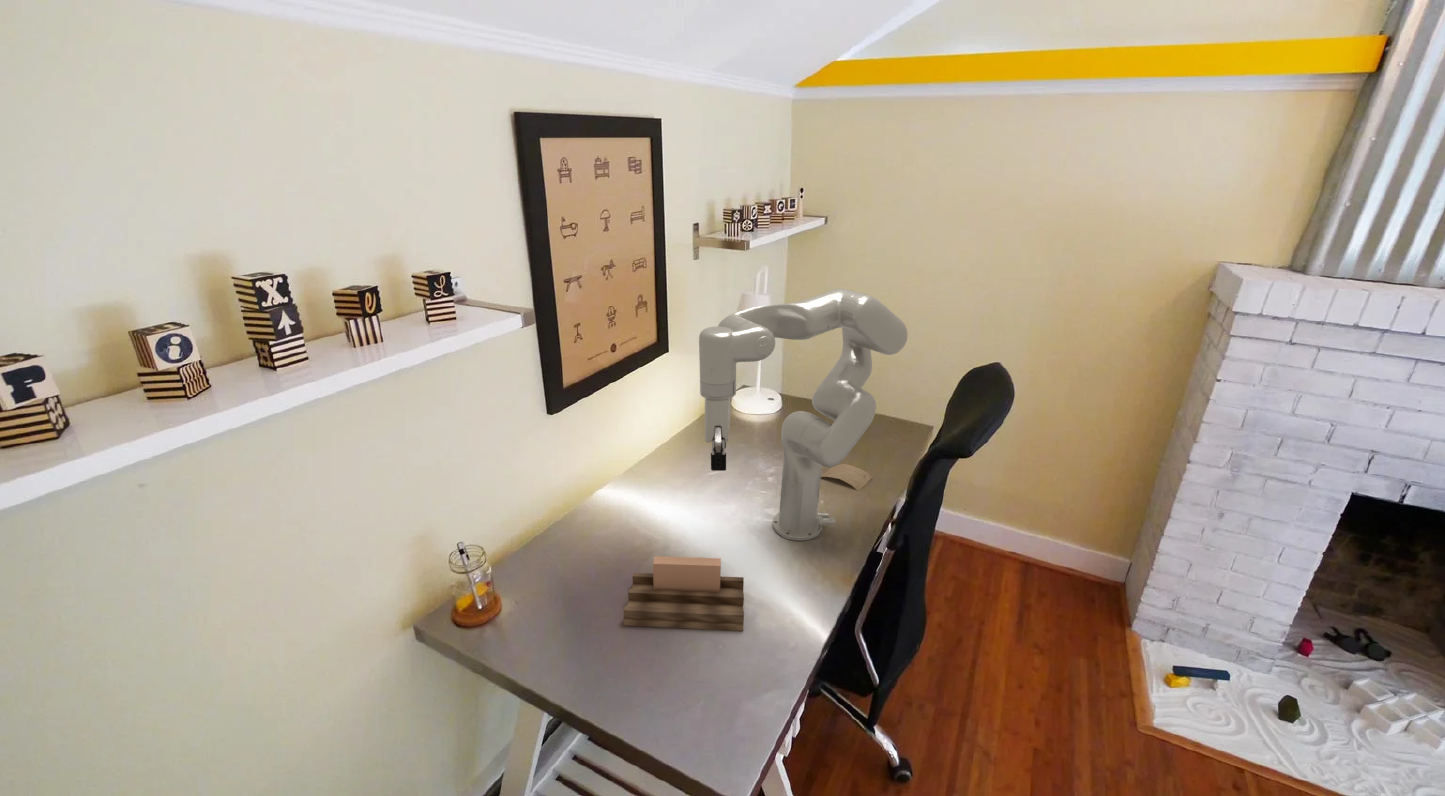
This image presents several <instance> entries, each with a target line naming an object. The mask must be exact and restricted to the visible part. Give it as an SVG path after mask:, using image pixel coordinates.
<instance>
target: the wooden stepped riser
mask: <svg viewBox="0 0 1445 796" xmlns="http://www.w3.org/2000/svg"><path fill="white" fill-rule="evenodd" d="M631 576H632V585H631V588H628V592H627V594H628V595H627V596H628V597H627V598H628V601H627V604H626V605H624V608H623V626H627V627H629V626H630V627H647V628H648V627H650V628H651V627H652V628H654V627H655V628H670V629H671V628H673V629H694V630H695V629H697V630H719V631H740V632H743V631H744V626H745V625H744V620H745V610H744V604H745V603H744V602H745V600H744V599H745V593H744V582H745V581H744V580H745V579H744V577H743V576H741V577H739V576H721V575H720V593H717V592H694V591H671V590H654V587H653V572H652V573H651V572H649V573H647V572H633V573H632V575H631Z"/></svg>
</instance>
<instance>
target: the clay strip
mask: <svg viewBox="0 0 1445 796" xmlns="http://www.w3.org/2000/svg"><path fill="white" fill-rule="evenodd" d="M721 569H722V558H720V557H719V558H717V557H715V558H714V557H693V556H690V557H689V556H661V555H659V556H658V555H655V556H654V557H653V563H652V573H653V587H654V590H671V591H694V592H717V593H720V576H721V575H722V574H721V572H722V571H721Z"/></svg>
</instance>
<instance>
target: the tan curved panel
mask: <svg viewBox="0 0 1445 796" xmlns="http://www.w3.org/2000/svg"><path fill="white" fill-rule="evenodd" d="M823 477H824V478H827V477H828V478H834V479H838V480H839V479H840V480H841V481H844V482H845V483H847V484H848V485H850V486H852V487H853V489H855V490H856V491H860V490H861V489H862V488H863V487H864V486H865V485H866V484H867V483H868V482H869V481H870V480H872V479H873V477H872V476H871V475H870V474H869V473H868V472H867V471H865V470H863V469H862V468H859V467H856V466H854V465H851V464H847V463H839V464H837V465H836V466H833V467H829V469H827V470H826V471H825V472H824V473H823V474H821V478H823Z"/></svg>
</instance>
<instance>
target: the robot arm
mask: <svg viewBox="0 0 1445 796" xmlns="http://www.w3.org/2000/svg"><path fill="white" fill-rule="evenodd" d="M839 328H840V329H841V332H842V333H841V334H842V350H841V354H840V357H839V358H838V360H837V362H836V364H834V366H833V367H832V369H830V371H829V373H828V374H827V375H826V376H825V378H824V379H823V380H822V381H821V382H820V384H819V385H818V387H817V388H816V390H815V392H814V394H812V395H813V396H812V398H811V402H812V403H811V404H812V406H813V408H814V409H815V410H816V411H817V412H818V413H820V414H821V415H823V416H825V417H826V418H828V419H830V420H833V423H831V422H828V421H826V420H825V419H823V418H821V417H819V416H818V415H815V414H812V412H811V413H810V412H809V411H808V412H807V411H804V410H798V411H793V412H792V413H790V414H789V415H787V416H786V417H785V419H784V421H783V423H782V425H781V443H782V454H783V456H782V459H783V460H782V475H781V488H780V500H779V512H778V513H776V514H775V515H774V517H773V518H772V529H773V530H774V532H775V533H777V534H778V535H780V536H781V537H782V538H785V539H788V540H792V541H799V542H801V541H810V540H813V539H814V538H815V539H816V538H817V537H818V536H819V535H820V534H821V532H822V528H823V525H824V526H835V525H836V518H835V517H830V516H829V515H830V514H829V513H828V512H827V513H826V512H823V513H822V512H819V511H818V508H819V507H818V506H819V505H818V504H819V497H820V489H821V478H822V477H821V475H822V471H823V470H822V469H823V468H822V467H827V468H831V467H833V466H836V465H839V464H841V463H842V462H843V461H844V460H845V459H846V457H847V456H848V454H849V453H850V452H851V451H852V449H853V448H854V446H855V445H856V444H857V443H858V442H859V440H860V439H861V438H862V436H863V435H864V433H865V432H866V431H867V429H868V428H869V427H870V425H871V423H872V422H873V420H874V418H875V414H876V412H877V411H876V410H877V403H876V400H875V398H874V396H873V395H872V394H871V393H870V392H868V391H867V390H865V389H863V387H864V386H865V385H866V382H867V381H868V380H869V379H870V377H871V374H872V369H873V358H872V351H874V352H877V353H879V354H882V355H888V356H891V355H895V354H898V353H899V352H901V351H902V350H903V349H904V347H905V346H906V343H907V340H908V329H907V326H906V324H905V322H904V321H903V320H902V319H901V318H899V316H897V315H896V314H895V313H894V312H893V311H891V310H890V309H889V308H888V307H887V306H886V305H885V304H884V303H882V302H881V301H880V300H878V299H877V298H875V297H874V296H872V295H868V294H866V293H861V292H858V291H855V290H850V289H845V288H837V289H832V290H829V291H827V292H826V291H825V292H822V293H820V294H817V295H814V296H812V297H811V296H810V297H807V298H804V299H802V300H798V301H795V302H786V303H778V304H766V305H759V306H754V307H750V308H745V309H742V310H740V311H737V312H733V313H731V314H730V315H727V316H726V317H724V318H723V319H722V320H721V321H720V322H719V323H718V325H717V326H710V327H707V328H704V329H702V330H701V332H700V333H699V336H698V337H699V338H698V348H699V349H698V351H699V352H698V354H699V390H700V391H699V394H700V396H701V397H703V398H704V434H705V435H704V439H705V440H704V441H705V443H706V444H708V443H711V452H710V470H711V471H713V472H715V471H716V472H717V471H719V472H720V471H726V470H727V453H726V448H727V442H728V441H729V435H730V423H731V421H730V420H731V398H733V397H735V396H736V395H737V363H750V362H752V363H754V362H759V361H763V360H765V359H767V358H768V357H770V356H771V354H773V352H774V350H775V347H776V339H775V338H778V339H784V340H785V339H786V340H793V341H794V340H797V341H798V340H799V341H801V340H802V341H803V340H805V341H806V340H810V339H812V338H814V337H817V336H819V335H822V334H825V333H827V332H830V331H834V330H836V329H839Z"/></svg>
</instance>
